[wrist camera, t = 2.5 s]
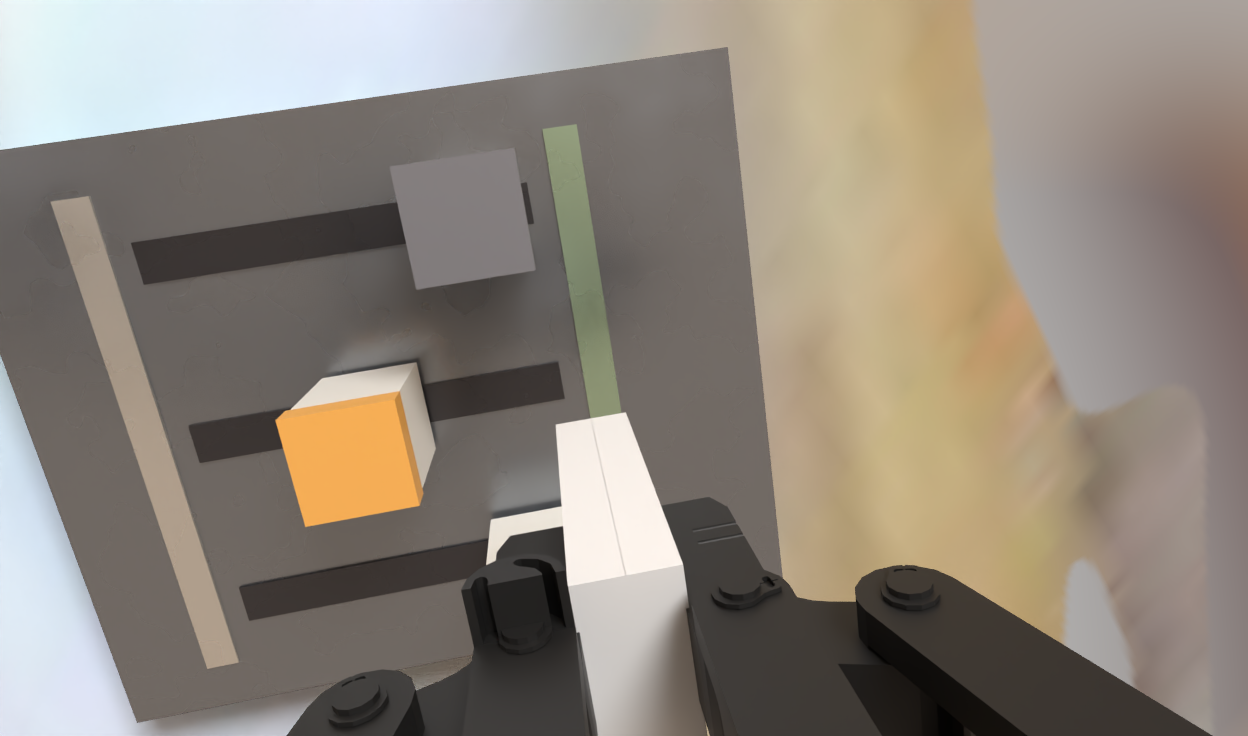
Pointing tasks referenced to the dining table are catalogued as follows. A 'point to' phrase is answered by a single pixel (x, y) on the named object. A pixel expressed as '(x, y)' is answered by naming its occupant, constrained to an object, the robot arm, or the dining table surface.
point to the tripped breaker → (359, 444)
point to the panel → (367, 356)
